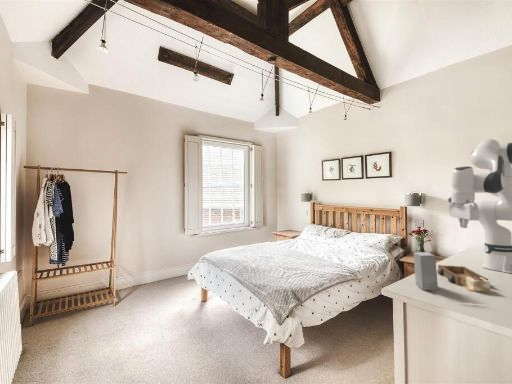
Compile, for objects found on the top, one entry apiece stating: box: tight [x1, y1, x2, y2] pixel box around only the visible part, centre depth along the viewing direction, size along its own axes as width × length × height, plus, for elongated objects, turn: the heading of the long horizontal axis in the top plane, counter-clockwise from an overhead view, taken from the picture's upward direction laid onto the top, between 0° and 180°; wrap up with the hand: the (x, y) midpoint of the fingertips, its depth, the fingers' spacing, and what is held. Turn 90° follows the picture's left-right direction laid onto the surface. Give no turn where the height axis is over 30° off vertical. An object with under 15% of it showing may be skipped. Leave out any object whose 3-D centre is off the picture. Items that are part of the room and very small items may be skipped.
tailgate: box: [461, 285, 495, 294], centre depth 116 cm, size 9×1×6 cm
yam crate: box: [466, 276, 491, 293], centre depth 115 cm, size 6×6×5 cm
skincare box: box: [413, 251, 439, 291], centre depth 120 cm, size 8×7×16 cm
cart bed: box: [437, 264, 489, 287], centre depth 129 cm, size 15×21×4 cm
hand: (463, 227), depth 127 cm, fingers closed
